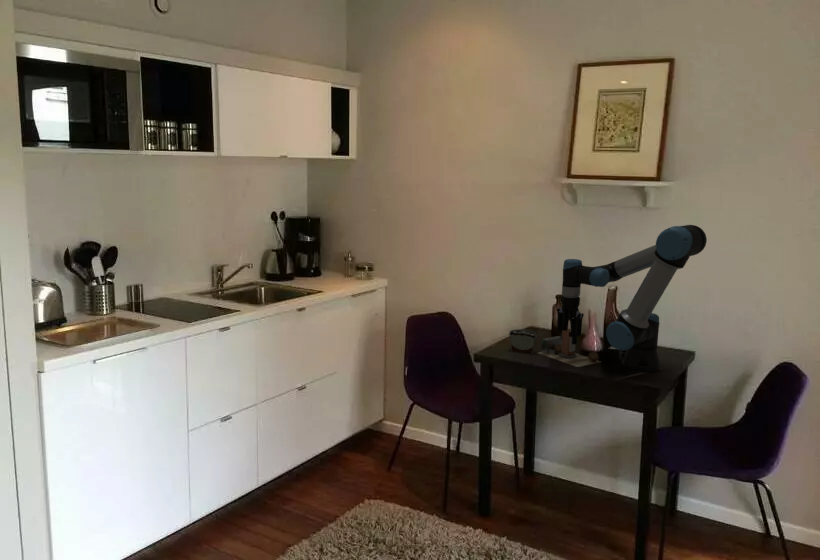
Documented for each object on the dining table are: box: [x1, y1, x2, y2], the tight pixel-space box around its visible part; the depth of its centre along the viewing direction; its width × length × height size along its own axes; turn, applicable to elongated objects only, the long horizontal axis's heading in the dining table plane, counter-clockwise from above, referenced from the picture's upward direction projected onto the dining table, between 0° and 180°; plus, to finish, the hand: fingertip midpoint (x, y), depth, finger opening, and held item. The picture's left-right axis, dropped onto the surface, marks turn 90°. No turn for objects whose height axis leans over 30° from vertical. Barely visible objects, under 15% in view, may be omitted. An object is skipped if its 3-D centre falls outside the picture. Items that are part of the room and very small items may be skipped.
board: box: [537, 351, 602, 368], centre depth 294 cm, size 24×14×1 cm, turn 33°
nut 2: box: [587, 350, 599, 362], centre depth 288 cm, size 4×4×4 cm
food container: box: [508, 328, 538, 355], centre depth 302 cm, size 12×6×10 cm, turn 63°
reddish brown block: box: [559, 328, 578, 359], centre depth 293 cm, size 5×5×12 cm
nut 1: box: [554, 344, 561, 354], centre depth 299 cm, size 4×4×4 cm
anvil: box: [540, 335, 561, 356], centre depth 300 cm, size 7×10×6 cm
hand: (568, 349), depth 294 cm, fingers closed on reddish brown block, 4 cm apart
